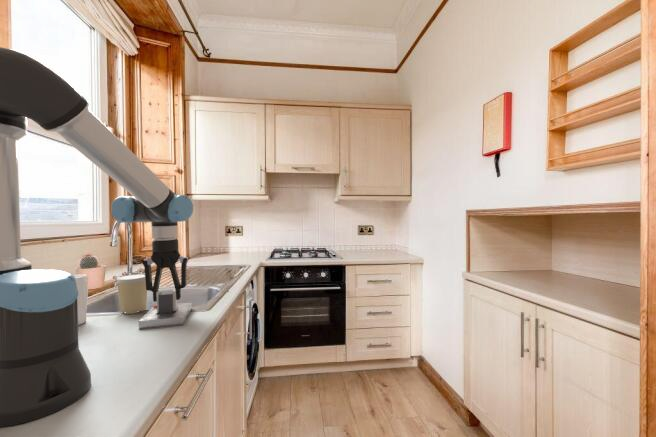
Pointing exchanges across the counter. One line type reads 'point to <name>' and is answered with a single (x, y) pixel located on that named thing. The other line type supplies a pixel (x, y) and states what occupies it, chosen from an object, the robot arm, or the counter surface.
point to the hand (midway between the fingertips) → (167, 310)
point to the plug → (166, 302)
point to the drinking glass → (82, 296)
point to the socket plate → (165, 317)
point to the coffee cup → (132, 293)
